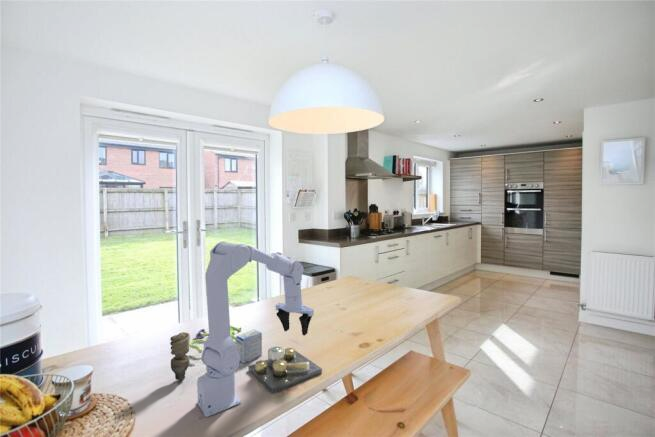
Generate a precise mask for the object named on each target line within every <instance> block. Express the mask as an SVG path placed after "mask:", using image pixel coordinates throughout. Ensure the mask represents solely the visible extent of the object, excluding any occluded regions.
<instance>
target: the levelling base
mask: <svg viewBox="0 0 655 437" xmlns="http://www.w3.org/2000/svg"><path fill="white" fill-rule="evenodd" d="M277 360H285V361H286V362H287V363H300V362H309V369H306V370H292V371H287V373H286V374H284V375H281V376H276V375H274V374H273V362H274V361H277ZM248 372H250V374H251V375H252V376H254V377H255V378H256V379H257V380H258V382H260V383H261V384H262V385H263V386H264V387H265V388H266V389H267V390H268V391H269V392H270V393H271V394H275V393H277V392H279V391H282V390H284V389H286V388H289V387H291V386H294V385H296V384H299V383H301V382H304V381H306V380H309V379H311V378H313V377H315V376H319V375H320V374H322V373H323V368H322V367H321V366H319V365H317V364H316V363H314V362H313V361H312V360H311V359H309V358H307V357H305V356H304V355H303V354H301V353H300V352H298V351H297V350H296V349H295V348H294V347H287V348H285V349H284V347H282V346H273V347H270V348H268V349H267V359H266V360H261V359H260V360H257V361H255V363H254V364H251V365H248Z"/></svg>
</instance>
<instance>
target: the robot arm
mask: <svg viewBox="0 0 655 437" xmlns="http://www.w3.org/2000/svg"><path fill="white" fill-rule="evenodd" d="M209 256H210V258H209V262H208V265H207V268H206V271H205V277H204V278H205V289H206V291H205V293H206V305H207V308H206V309H207V320H208V321H207V322H208V333H209V336H208V338H206V339H205V340H206V341H205V342H204V343H203V350H202V353H201V357H200V358H201V362H202V363H203V365H205V367H206V369H205V370H206V372H205V373H204V374H203V375H201V376H199V377H198V378H197V380H196V381H197V382H196V384H197V385H196V386H197V401H196V403H197V405H198V408H200V410H201V411H202V413H203V415H204V416H205V417H207V418H208V417H211V416H213V415H215V414H219V412H222V411H225V410H227V409H230V408H232V407H235V406H237V405H240V404H241V400H240V398H238V396H237V395H236V381H235V378H236V374H235V373H236V371H237V369H238V368H239V365H240V355H239V353H238V352H237V348H236V344H235V342H234V341H235V340H234V339H232V337H231V335H232V334H231V335H230V325H231V324H230V322H231V321H230V304H229V289H228V288H229V287H228V286H229V285H228V284H229V283H228V280H229V278H230V277H232V276H233V275H235V274H236V273H237V272H239V271H240V270H241V269H243V268H244V267H245V266H247V265H248V263H251V262H252V261H253V262H258V263H260V264H263V265H265V267H266V269H267V270H269V271H271V272H274V273H277V274H279V275H280V276H282V278H283V289H284V290H283V291H284V302H278V303H276V304H275V310H276V311H277V312H276V317H277V318H278V319H279V321H280V322H281V325H282V328H283V331H284V332H288V331H289V330H290V314H291V313H292V314H293V313H294V314H295V313H296V314H301V316H299V317H298V320H299V322H300V326H301V333H302V336H306V335H307V334H308V331H309V327H310V326H309V325H310V323H311V320H312V317H313V316H314V314H315V313H314V311H315V310H314V308H311V307H308V306H306V305H303V298H302V296H303V295H302V280H303V277H302V276H303V273H304V271H305V270H304V269H305V268H304V267H303V264H302V263H301V262H300V261H298V260H292V257H290V256H285V255H283V253H282V252H279V251H276V252H272V253H270V254H269V253H267V252H265V251H263V250H261V249H258V248H256V247H255V246H251V245H247V244H244V243H232V242H227V241H220V242H218V243H216V244H215V245H214V246H213V248H211V249H210V251H209Z"/></svg>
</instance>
